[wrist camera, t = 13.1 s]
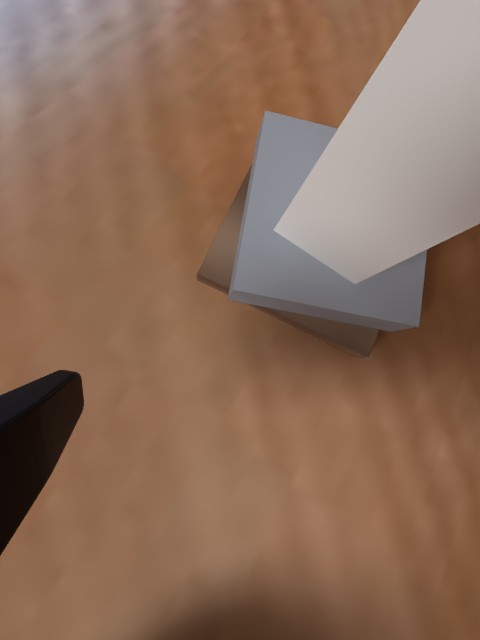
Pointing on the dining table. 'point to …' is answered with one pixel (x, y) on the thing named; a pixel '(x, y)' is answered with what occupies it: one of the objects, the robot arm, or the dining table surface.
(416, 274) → the tower top slab
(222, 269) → the tower base slab
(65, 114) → the dining table surface
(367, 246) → the pillar
